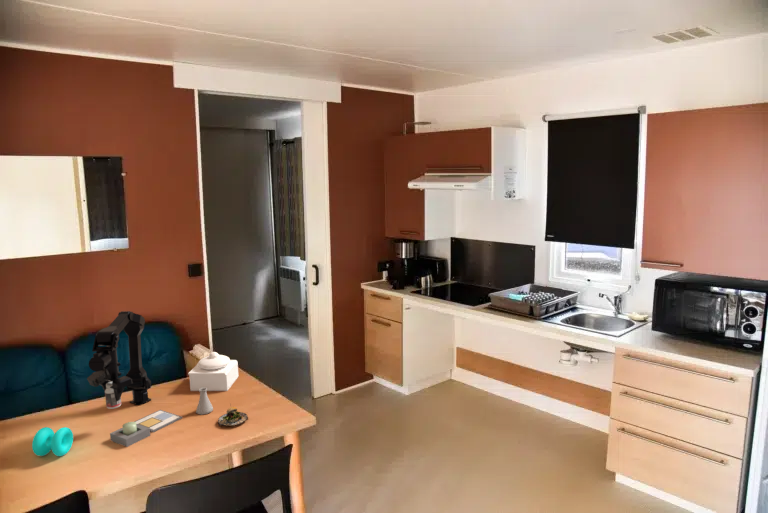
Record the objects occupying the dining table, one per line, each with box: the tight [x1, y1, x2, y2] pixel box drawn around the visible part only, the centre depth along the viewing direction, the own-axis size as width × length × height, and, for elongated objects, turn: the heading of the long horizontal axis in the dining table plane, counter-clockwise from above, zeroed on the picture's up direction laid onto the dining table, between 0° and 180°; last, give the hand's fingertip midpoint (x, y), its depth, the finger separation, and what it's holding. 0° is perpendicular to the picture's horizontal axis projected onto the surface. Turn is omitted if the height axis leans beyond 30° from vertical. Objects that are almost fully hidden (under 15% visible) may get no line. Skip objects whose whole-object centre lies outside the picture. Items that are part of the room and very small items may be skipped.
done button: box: [122, 421, 137, 436], centre depth 205 cm, size 5×5×4 cm
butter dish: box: [187, 351, 239, 392], centre depth 256 cm, size 18×18×16 cm
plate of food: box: [217, 403, 249, 428], centre depth 217 cm, size 12×12×8 cm
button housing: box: [109, 424, 151, 448], centre depth 205 cm, size 10×10×3 cm
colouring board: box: [133, 409, 183, 433], centre depth 219 cm, size 14×14×1 cm
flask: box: [195, 388, 214, 415], centre depth 227 cm, size 7×7×10 cm
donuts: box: [31, 426, 74, 457], centre depth 194 cm, size 10×10×10 cm
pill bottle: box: [104, 382, 122, 410], centre depth 211 cm, size 5×5×10 cm
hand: (113, 399), depth 212 cm, fingers closed on pill bottle, 5 cm apart
